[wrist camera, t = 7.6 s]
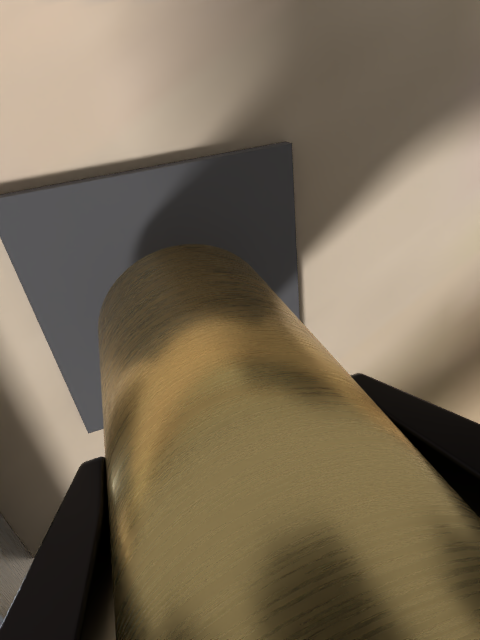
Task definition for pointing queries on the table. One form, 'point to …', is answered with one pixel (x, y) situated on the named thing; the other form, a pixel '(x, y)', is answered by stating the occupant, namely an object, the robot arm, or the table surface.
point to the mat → (143, 242)
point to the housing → (11, 566)
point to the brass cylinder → (263, 475)
